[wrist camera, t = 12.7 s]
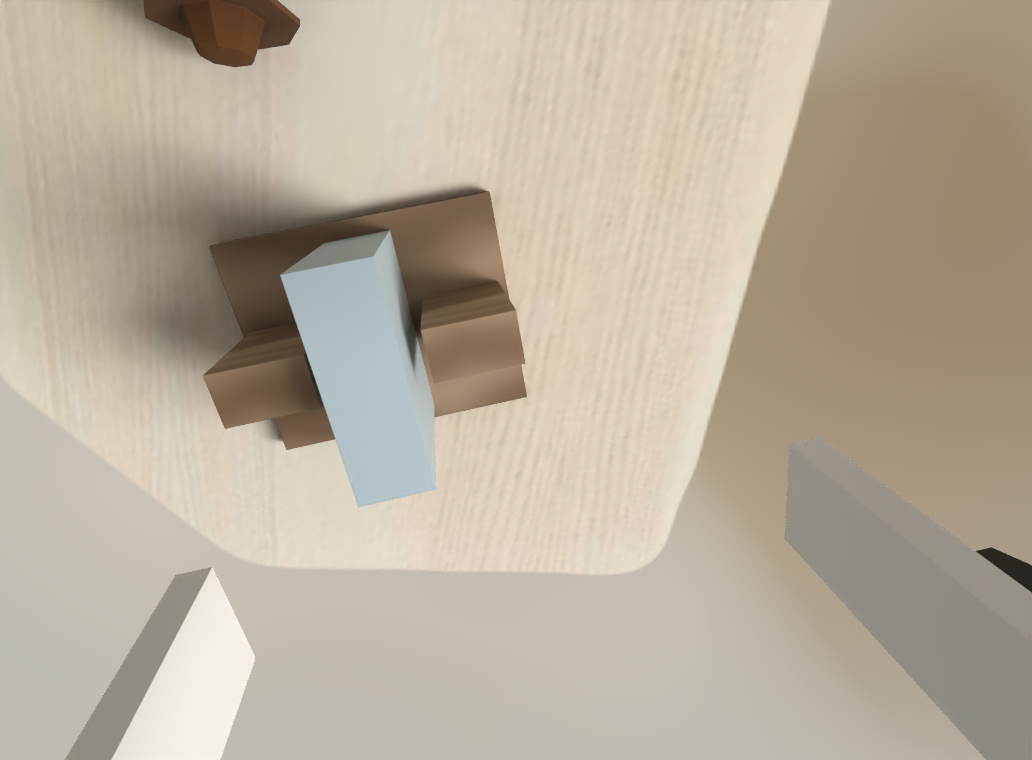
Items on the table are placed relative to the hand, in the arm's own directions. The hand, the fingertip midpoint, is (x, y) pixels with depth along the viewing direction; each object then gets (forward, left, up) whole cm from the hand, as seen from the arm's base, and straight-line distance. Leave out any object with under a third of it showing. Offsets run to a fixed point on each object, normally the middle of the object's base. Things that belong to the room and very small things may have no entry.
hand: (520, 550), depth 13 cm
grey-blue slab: (+1, -5, -26) cm, 26 cm away
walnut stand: (+1, -5, -27) cm, 27 cm away
